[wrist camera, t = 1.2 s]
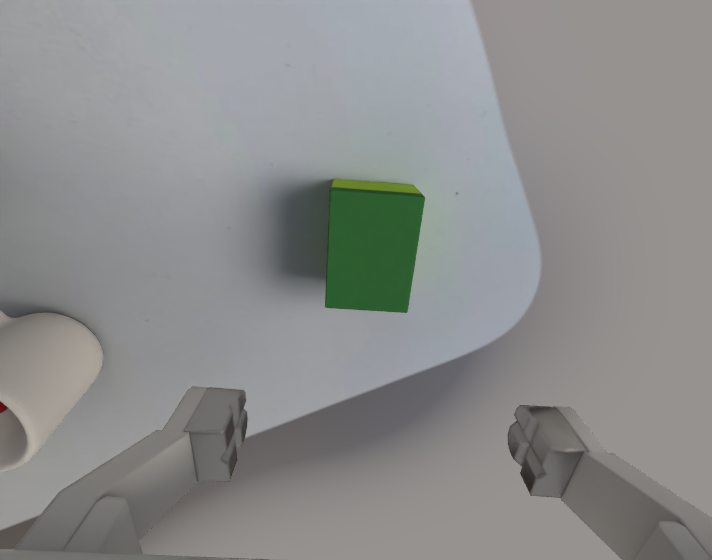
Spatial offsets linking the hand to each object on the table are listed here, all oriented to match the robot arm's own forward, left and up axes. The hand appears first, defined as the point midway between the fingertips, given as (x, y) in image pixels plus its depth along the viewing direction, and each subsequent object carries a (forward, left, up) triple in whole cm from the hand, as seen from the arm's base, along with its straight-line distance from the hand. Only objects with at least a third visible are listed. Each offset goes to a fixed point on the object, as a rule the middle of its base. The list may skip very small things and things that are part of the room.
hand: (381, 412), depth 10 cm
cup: (+8, -23, -15) cm, 28 cm away
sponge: (-1, 0, -14) cm, 15 cm away
